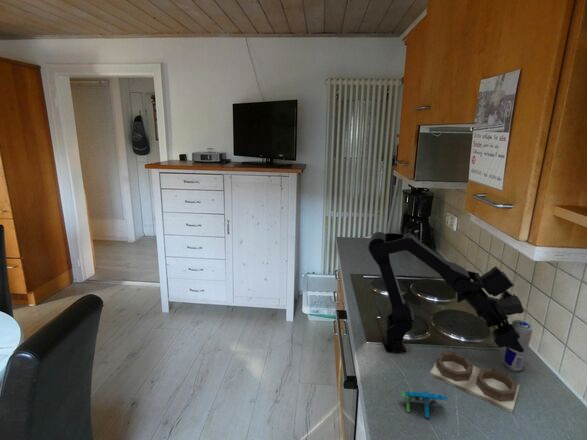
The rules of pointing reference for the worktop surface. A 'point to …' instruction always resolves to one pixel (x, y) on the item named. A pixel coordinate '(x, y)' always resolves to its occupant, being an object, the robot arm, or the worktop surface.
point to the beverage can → (515, 358)
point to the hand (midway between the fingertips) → (517, 341)
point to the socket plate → (476, 380)
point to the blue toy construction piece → (426, 399)
